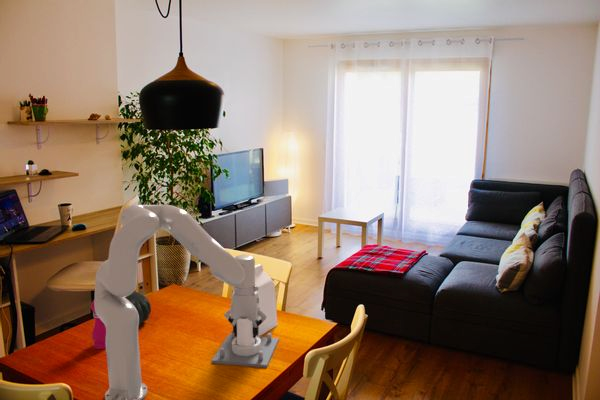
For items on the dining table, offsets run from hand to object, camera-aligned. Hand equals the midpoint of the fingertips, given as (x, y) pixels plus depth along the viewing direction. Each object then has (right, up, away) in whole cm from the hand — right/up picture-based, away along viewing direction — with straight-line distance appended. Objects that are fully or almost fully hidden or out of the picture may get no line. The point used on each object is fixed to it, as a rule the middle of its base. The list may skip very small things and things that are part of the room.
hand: (245, 335), depth 184 cm
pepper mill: (-55, -6, +6) cm, 55 cm away
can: (0, -4, +1) cm, 4 cm away
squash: (-49, -2, +25) cm, 56 cm away
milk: (+3, -2, +21) cm, 21 cm away
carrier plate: (0, -6, +1) cm, 6 cm away
